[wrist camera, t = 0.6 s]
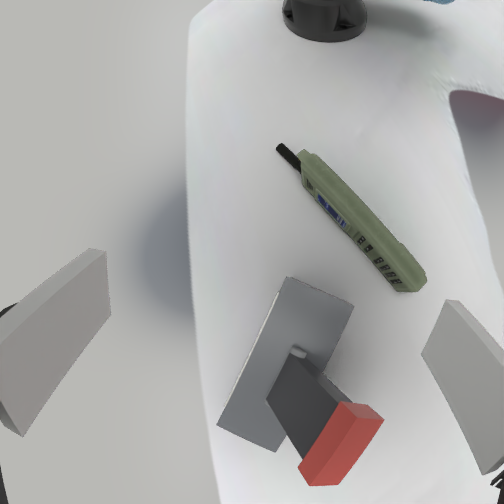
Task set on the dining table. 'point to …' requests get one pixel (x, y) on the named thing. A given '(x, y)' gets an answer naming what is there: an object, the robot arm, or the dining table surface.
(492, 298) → the dining table surface
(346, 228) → the handheld radio
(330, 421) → the breaker lever
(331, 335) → the breaker box
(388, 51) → the dining table surface
